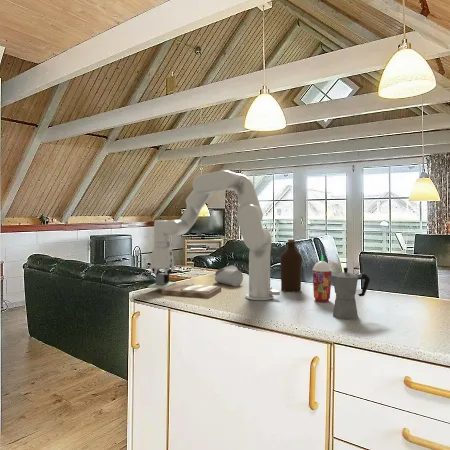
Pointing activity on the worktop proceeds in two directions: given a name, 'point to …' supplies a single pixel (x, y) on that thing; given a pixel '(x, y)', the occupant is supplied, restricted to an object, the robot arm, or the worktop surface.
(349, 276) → the coffeepot
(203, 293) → the ticket board
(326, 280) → the smoothie
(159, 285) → the stub
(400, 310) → the worktop surface
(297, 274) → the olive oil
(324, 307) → the worktop surface
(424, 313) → the worktop surface
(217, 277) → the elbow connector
